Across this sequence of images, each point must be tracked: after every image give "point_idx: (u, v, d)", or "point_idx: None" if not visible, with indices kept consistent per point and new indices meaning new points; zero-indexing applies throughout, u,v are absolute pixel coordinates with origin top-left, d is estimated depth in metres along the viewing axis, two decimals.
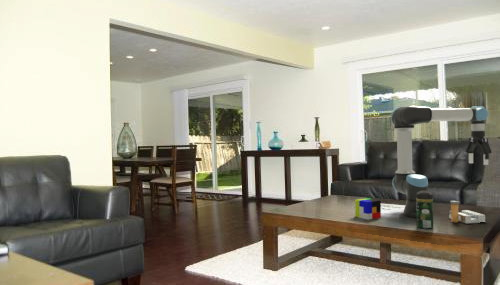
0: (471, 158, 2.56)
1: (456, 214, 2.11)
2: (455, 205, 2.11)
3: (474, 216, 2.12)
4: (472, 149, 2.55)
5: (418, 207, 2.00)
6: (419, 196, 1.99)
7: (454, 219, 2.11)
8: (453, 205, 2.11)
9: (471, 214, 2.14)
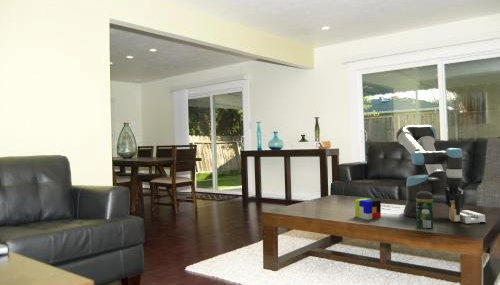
0: None
1: None
2: None
3: (474, 216, 2.12)
4: None
5: (418, 207, 2.00)
6: (419, 196, 1.99)
7: None
8: (453, 204, 2.11)
9: (471, 214, 2.14)
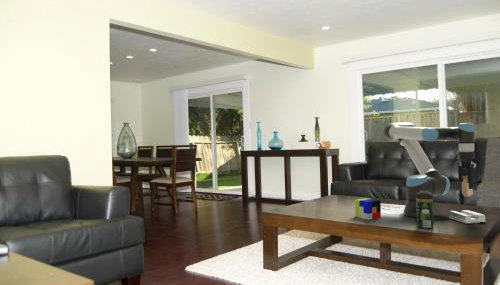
0: None
1: None
2: (467, 179, 2.12)
3: (474, 216, 2.12)
4: (464, 175, 2.16)
5: (418, 207, 2.00)
6: (419, 196, 1.99)
7: None
8: (465, 180, 2.13)
9: (471, 214, 2.14)
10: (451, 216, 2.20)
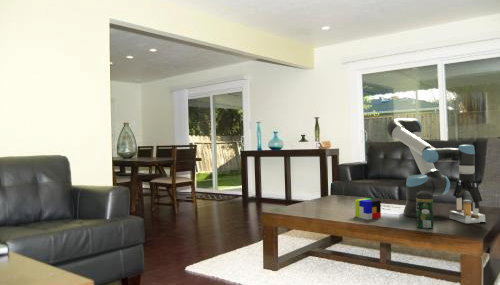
0: (459, 204, 2.21)
1: (469, 213, 2.13)
2: (468, 204, 2.13)
3: (474, 216, 2.12)
4: (460, 193, 2.20)
5: (418, 207, 2.00)
6: (419, 196, 1.99)
7: None
8: (466, 204, 2.13)
9: (471, 214, 2.14)
10: (451, 216, 2.20)
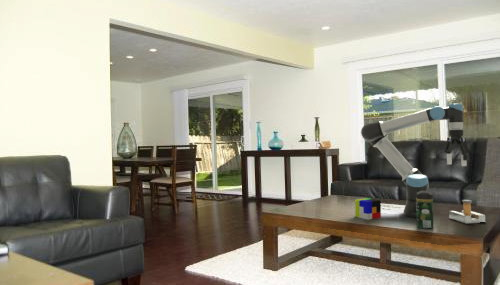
0: (449, 159, 2.40)
1: (469, 213, 2.13)
2: (468, 204, 2.13)
3: (474, 216, 2.12)
4: (450, 149, 2.39)
5: (418, 207, 2.00)
6: (419, 196, 1.99)
7: None
8: (466, 204, 2.13)
9: (471, 214, 2.14)
10: (451, 216, 2.20)
